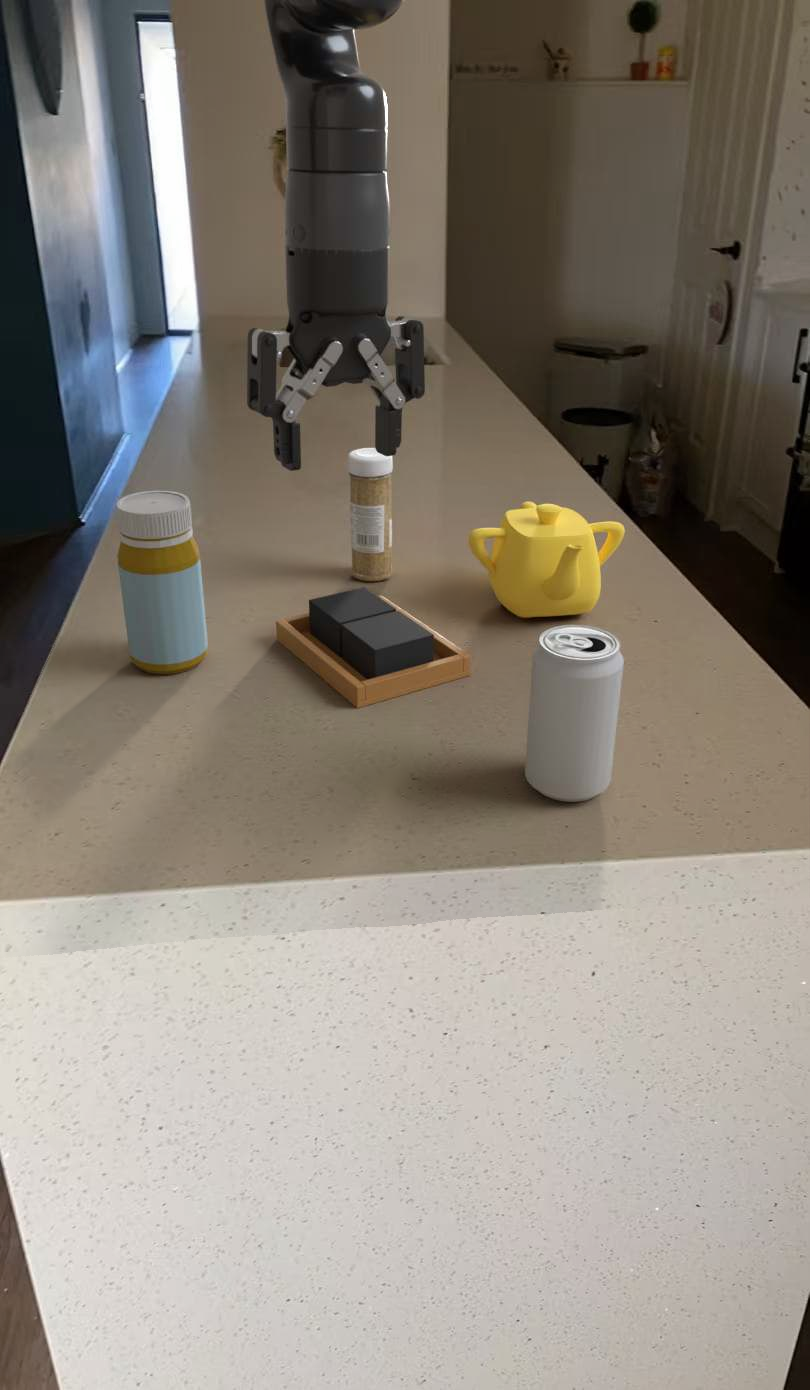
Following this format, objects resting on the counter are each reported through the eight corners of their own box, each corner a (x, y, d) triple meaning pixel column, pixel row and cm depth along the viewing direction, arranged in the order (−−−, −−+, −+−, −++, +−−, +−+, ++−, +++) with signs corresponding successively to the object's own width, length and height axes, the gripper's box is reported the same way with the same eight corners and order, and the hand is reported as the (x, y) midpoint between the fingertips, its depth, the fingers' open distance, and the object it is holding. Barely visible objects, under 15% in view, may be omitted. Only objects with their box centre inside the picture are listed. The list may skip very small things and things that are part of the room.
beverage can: (600, 815, 79) (617, 667, 73) (514, 797, 80) (523, 651, 75) (616, 770, 84) (633, 629, 78) (535, 754, 86) (546, 615, 80)
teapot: (635, 602, 112) (647, 506, 107) (571, 644, 103) (580, 541, 98) (523, 570, 119) (529, 478, 115) (454, 606, 111) (457, 509, 106)
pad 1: (340, 657, 99) (339, 622, 98) (309, 633, 104) (308, 599, 102) (396, 643, 102) (396, 608, 100) (364, 620, 106) (364, 586, 105)
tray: (357, 708, 92) (356, 687, 91) (276, 639, 104) (275, 620, 103) (470, 675, 97) (471, 655, 96) (381, 613, 109) (381, 595, 108)
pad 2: (375, 686, 94) (374, 650, 93) (342, 659, 99) (341, 624, 97) (433, 670, 97) (434, 634, 96) (398, 644, 102) (398, 610, 100)
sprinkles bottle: (400, 571, 119) (400, 450, 112) (379, 586, 115) (378, 461, 109) (363, 564, 121) (362, 444, 114) (342, 577, 117) (339, 454, 111)
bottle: (185, 682, 96) (168, 519, 89) (116, 669, 98) (94, 509, 91) (221, 649, 102) (209, 494, 95) (155, 638, 104) (138, 485, 96)
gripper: (394, 232, 85) (391, 439, 92) (224, 238, 78) (236, 460, 86) (448, 241, 79) (440, 461, 87) (270, 249, 73) (278, 486, 80)
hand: (339, 460), depth 86 cm, fingers open, 8 cm apart
